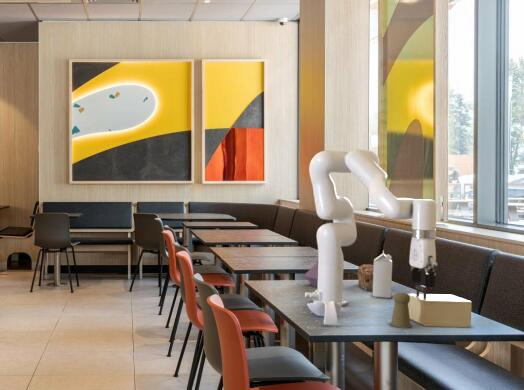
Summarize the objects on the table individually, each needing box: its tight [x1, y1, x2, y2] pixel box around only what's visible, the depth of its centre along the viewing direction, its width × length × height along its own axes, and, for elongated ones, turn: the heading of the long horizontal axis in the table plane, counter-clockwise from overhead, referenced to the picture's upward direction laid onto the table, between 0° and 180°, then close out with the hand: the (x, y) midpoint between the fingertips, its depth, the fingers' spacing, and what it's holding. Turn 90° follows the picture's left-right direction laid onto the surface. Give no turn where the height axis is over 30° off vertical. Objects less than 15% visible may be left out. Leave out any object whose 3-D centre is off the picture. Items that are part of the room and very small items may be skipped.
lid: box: [407, 283, 473, 304], centre depth 217 cm, size 16×13×5 cm
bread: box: [357, 263, 374, 292], centre depth 283 cm, size 19×11×10 cm, turn 170°
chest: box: [408, 297, 473, 328], centre depth 217 cm, size 16×13×8 cm
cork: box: [390, 292, 411, 329], centre depth 211 cm, size 6×6×11 cm
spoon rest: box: [306, 301, 342, 326], centre depth 219 cm, size 24×12×7 cm, turn 172°
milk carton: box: [372, 250, 393, 299], centre depth 264 cm, size 7×7×19 cm
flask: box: [304, 257, 318, 288], centre depth 286 cm, size 16×16×20 cm
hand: (422, 284), depth 216 cm, fingers open, 9 cm apart
